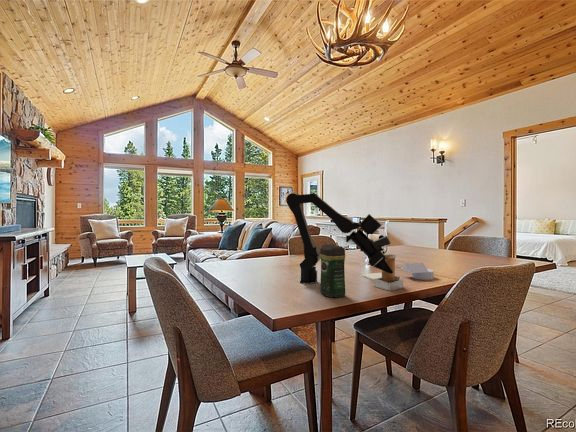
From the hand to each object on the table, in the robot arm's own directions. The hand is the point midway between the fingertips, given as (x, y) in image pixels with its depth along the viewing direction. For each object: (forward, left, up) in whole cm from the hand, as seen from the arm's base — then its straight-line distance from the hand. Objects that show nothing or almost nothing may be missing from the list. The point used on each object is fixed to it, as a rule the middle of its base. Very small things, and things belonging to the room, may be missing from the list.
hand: (391, 270), depth 120 cm
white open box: (-1, 0, -7) cm, 7 cm away
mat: (-4, +16, -7) cm, 18 cm away
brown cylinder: (-1, 0, -7) cm, 7 cm away
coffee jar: (-22, -15, -7) cm, 28 cm away
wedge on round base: (+14, +20, -7) cm, 25 cm away
